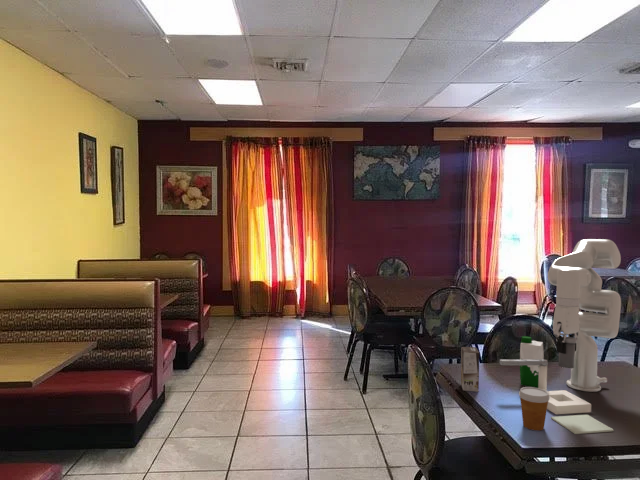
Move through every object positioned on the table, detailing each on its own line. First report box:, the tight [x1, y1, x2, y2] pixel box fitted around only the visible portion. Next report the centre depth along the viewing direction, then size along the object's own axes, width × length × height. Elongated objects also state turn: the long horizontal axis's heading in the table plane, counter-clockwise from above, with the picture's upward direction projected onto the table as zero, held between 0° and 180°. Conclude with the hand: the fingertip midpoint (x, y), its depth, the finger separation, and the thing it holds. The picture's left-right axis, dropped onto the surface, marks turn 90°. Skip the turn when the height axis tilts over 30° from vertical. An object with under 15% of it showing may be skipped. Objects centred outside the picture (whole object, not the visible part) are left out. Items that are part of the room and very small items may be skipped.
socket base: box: [538, 365, 592, 415], centre depth 176 cm, size 14×20×12 cm
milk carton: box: [519, 335, 545, 388], centre depth 196 cm, size 9×9×20 cm
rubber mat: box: [550, 414, 614, 435], centre depth 156 cm, size 14×12×1 cm
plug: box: [557, 335, 577, 369], centre depth 167 cm, size 6×6×10 cm
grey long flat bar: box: [499, 359, 548, 367], centre depth 183 cm, size 19×3×2 cm, turn 90°
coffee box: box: [460, 346, 480, 392], centre depth 191 cm, size 9×6×16 cm
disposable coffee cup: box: [518, 386, 550, 432], centre depth 155 cm, size 10×10×12 cm
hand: (566, 351), depth 168 cm, fingers closed on plug, 5 cm apart
